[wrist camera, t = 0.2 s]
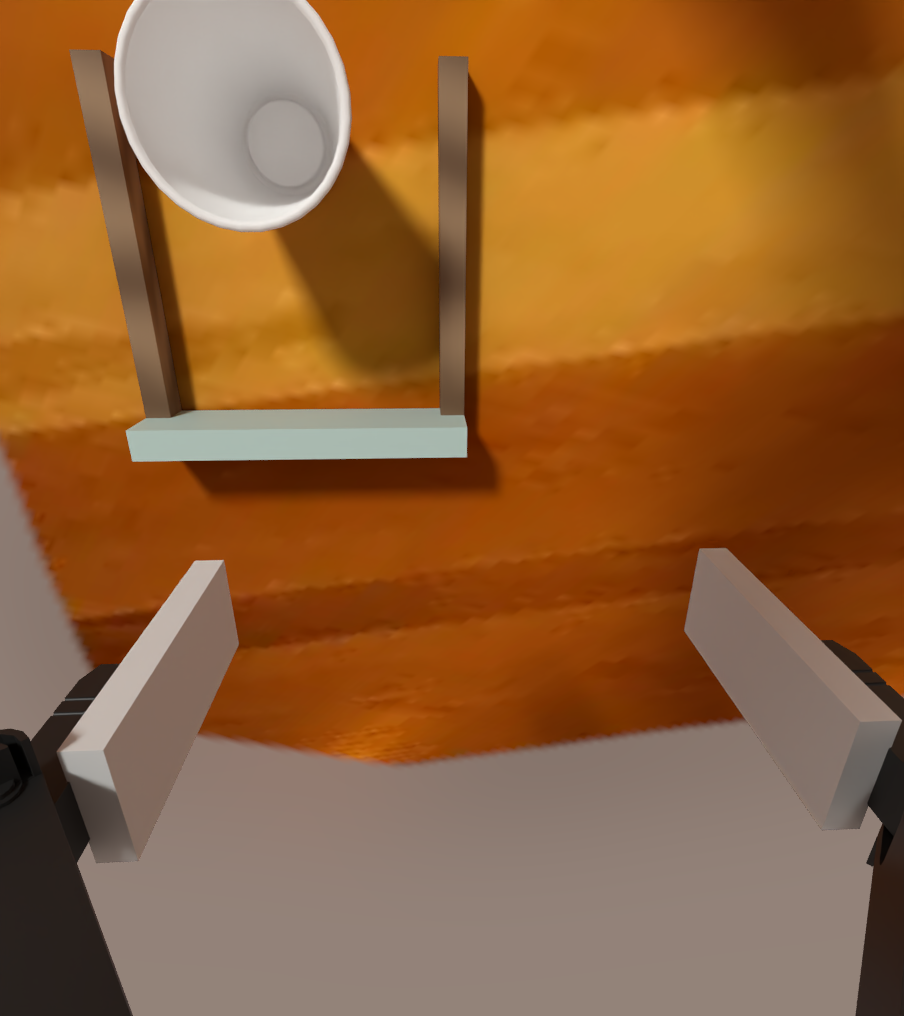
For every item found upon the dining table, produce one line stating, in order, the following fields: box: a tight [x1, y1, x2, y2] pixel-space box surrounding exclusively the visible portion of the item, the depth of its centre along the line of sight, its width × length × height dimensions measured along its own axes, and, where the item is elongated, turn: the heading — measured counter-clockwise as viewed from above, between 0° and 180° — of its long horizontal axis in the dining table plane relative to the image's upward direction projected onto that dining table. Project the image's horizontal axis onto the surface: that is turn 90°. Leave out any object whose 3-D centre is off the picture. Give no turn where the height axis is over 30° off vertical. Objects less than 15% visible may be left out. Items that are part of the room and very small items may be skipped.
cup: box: [114, 0, 352, 232], centre depth 30 cm, size 10×10×11 cm
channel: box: [69, 50, 468, 418], centre depth 37 cm, size 22×21×2 cm
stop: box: [126, 408, 467, 461], centre depth 40 cm, size 2×21×5 cm, turn 90°
